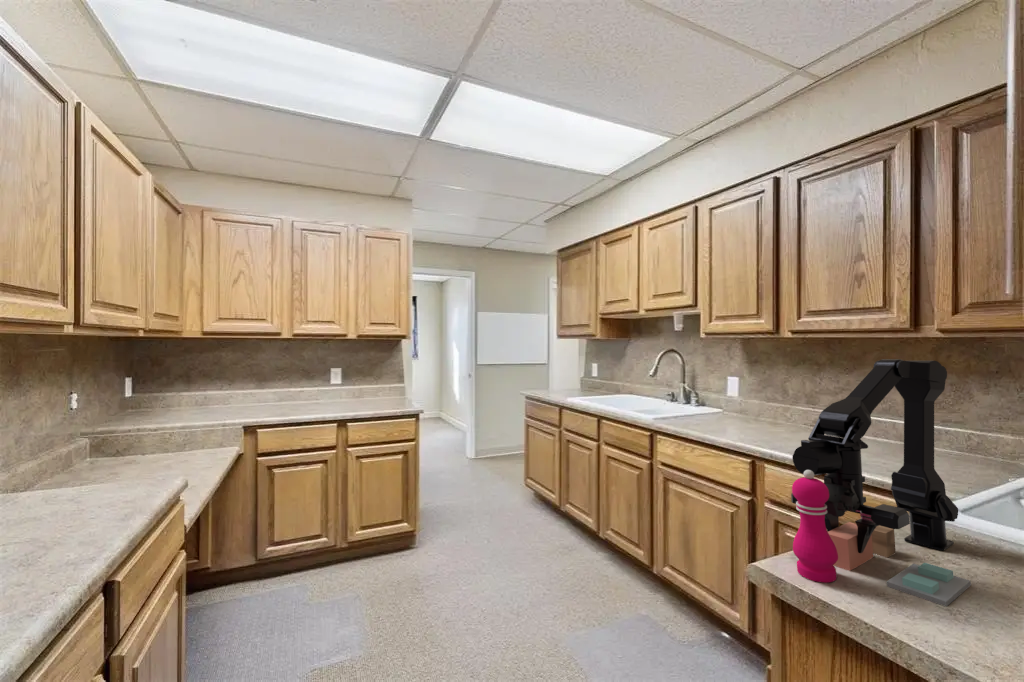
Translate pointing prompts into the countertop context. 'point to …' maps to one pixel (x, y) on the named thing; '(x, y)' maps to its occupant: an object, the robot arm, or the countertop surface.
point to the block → (883, 541)
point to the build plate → (930, 583)
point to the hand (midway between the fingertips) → (847, 548)
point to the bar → (849, 546)
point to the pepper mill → (813, 531)
